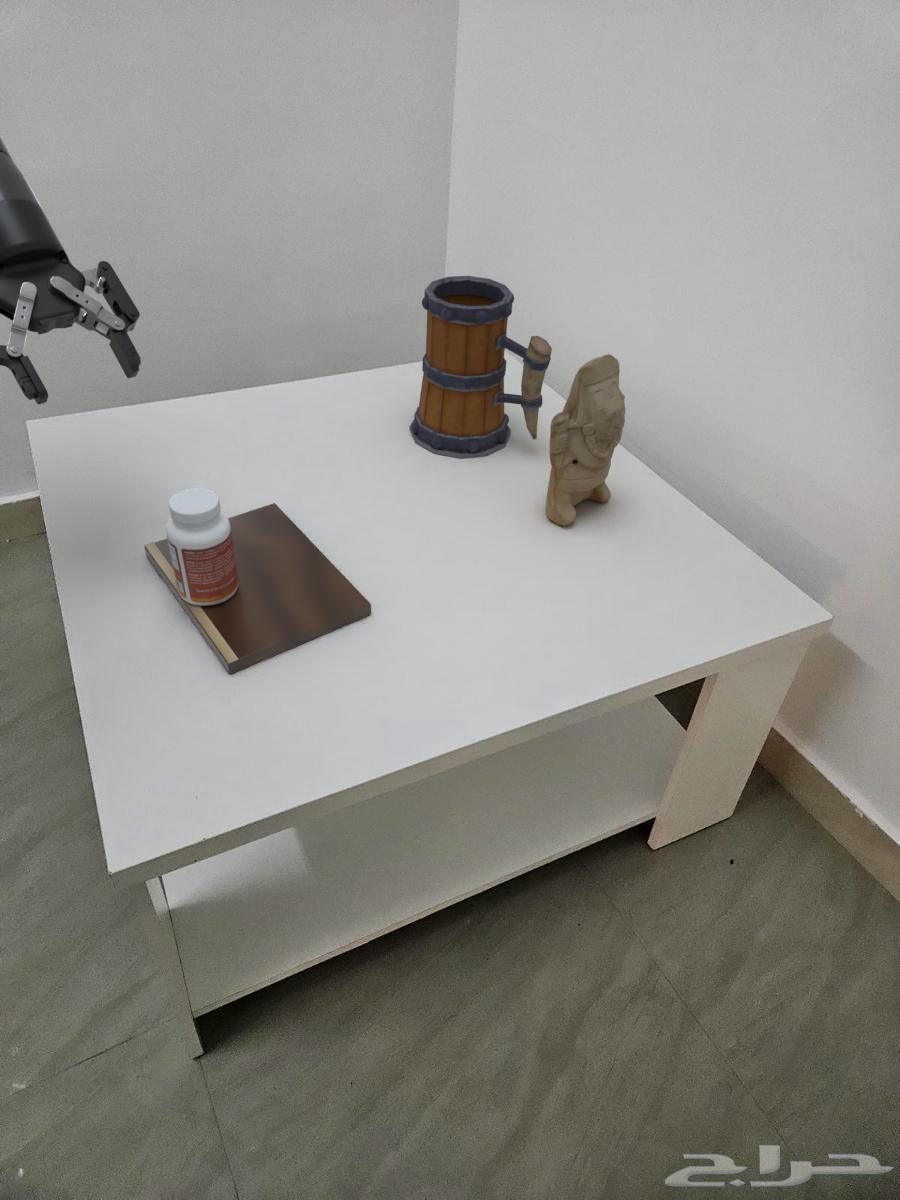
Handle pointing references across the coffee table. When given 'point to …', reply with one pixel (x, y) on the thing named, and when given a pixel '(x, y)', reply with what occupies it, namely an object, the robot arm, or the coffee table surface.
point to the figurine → (585, 439)
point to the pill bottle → (201, 547)
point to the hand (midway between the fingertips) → (90, 386)
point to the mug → (473, 369)
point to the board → (269, 591)
